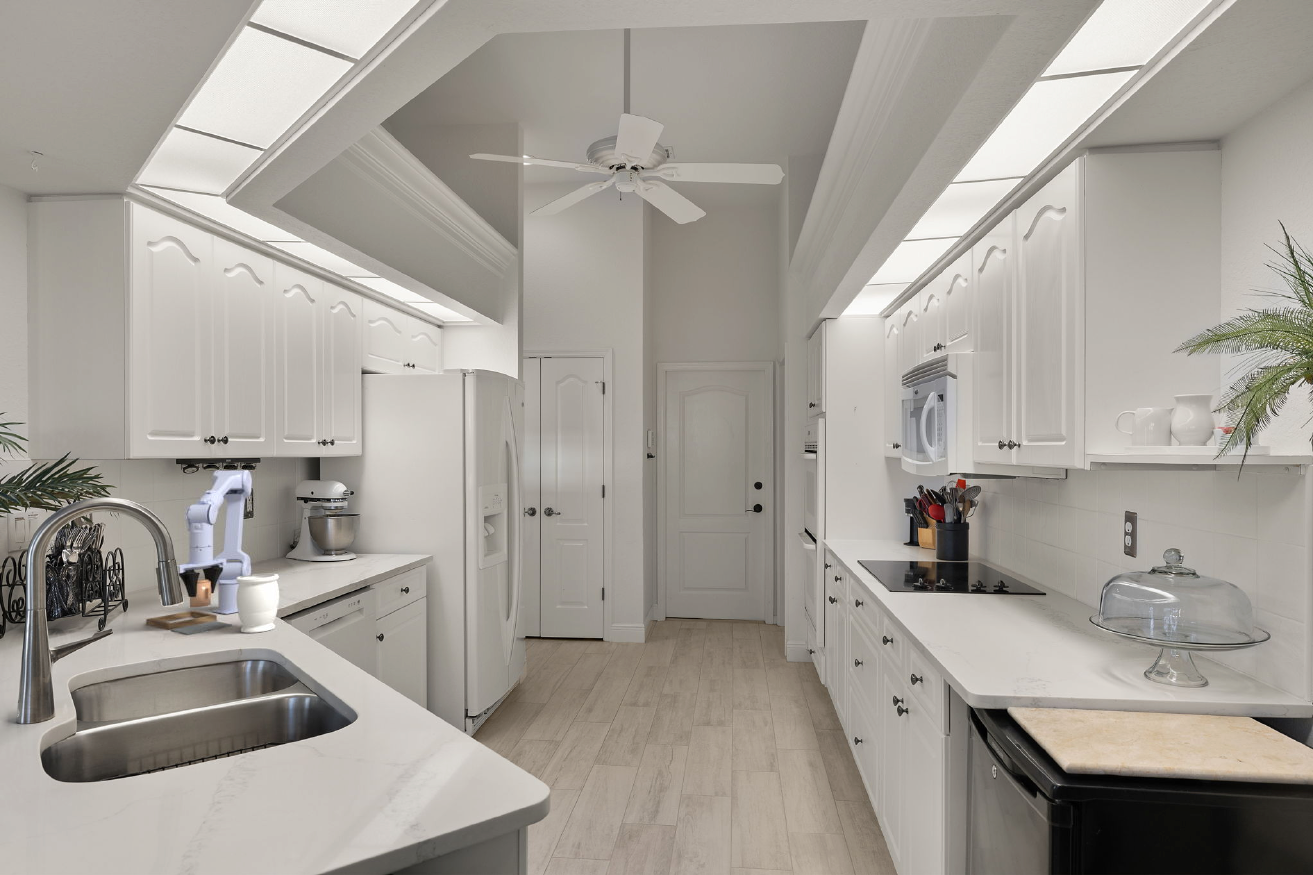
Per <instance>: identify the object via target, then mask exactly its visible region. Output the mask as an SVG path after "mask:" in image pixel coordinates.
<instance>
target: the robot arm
mask: <svg viewBox="0 0 1313 875" xmlns="http://www.w3.org/2000/svg"><path fill="white" fill-rule="evenodd" d="M252 481H253V478H252V474H251V472H250V471H249V470H248V469H244V470H214V472H213V474H212V476H211V485H212V486H211V488H210V490H209V489H208V490H206V491H204V492H203V494H202V495H201V496H200V498H199V499H198V500H197V501H196V503H195V504H191V505H190V506H187V508H186V511H185V521H186V525H187V527H186V528H187V532H189V536H188V537H189V541H188V543H189V544H188V545H189V548H188V549H189V556H188V557H189V561H188V562H187V563H183V564H179V565H177V566H178V568H179V573H178V576H179V578H180V579H181V580H182V582H183V583H184V584H183V585H184V586H185V589H186V592H187V595H188V597H189V598H190V597H196V594H197V582H198V580H199V578H200V574H201V572H196V571H198V570H202V572H203V574H204V579H208V580H209V581H211V594H214V593H215V589H216V586H218V592H217V593H218V594H217V596H218V597H217V598H218V599H217V604H218V605H217V607H218V608H217V609H212V610H211V611H212V612H213V613H218V614H224V615H228V614H233V613H238V608H237V600H236V598H237V589H238V586H239V583H238V582H237V577H240V576H245V575H252V574H251V573H252V566H251V564H252V563H251V557H250V556H249V555H248V554H247V553H246V552H244V551H243V550H242V544H243V527H244V526H243V525H244V515H245V514H244V512H245V504H246V503H245V502H246V499H247V498H249V497H251V493H252V485H253V484H252ZM224 500H225V501H226V514H225V525H224V526H225V527H224V537H223V538H224V540H223V551H222V552H220V553H218V554H217V555H216V556H215V557H214V524H215V523H216V521H217V517H218V514H219V509H220V508H221V506H222V505H223V503H224Z"/></svg>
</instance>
